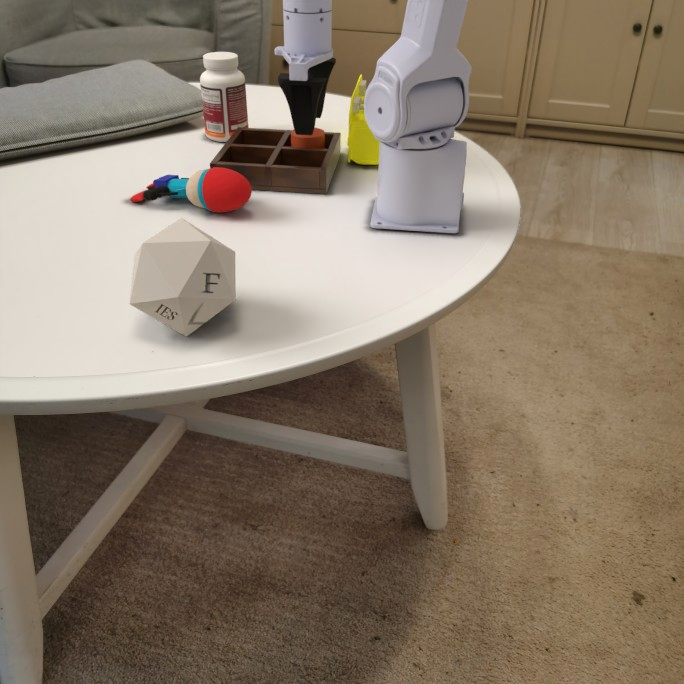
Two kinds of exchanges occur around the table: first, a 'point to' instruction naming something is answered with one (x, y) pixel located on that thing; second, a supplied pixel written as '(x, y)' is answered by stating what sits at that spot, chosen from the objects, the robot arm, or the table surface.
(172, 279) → the die
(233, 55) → the pill bottle
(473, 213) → the table surface
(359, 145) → the yellow toy chassis
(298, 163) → the grid
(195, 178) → the toy figure
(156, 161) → the table surface
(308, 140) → the orange short cylinder
